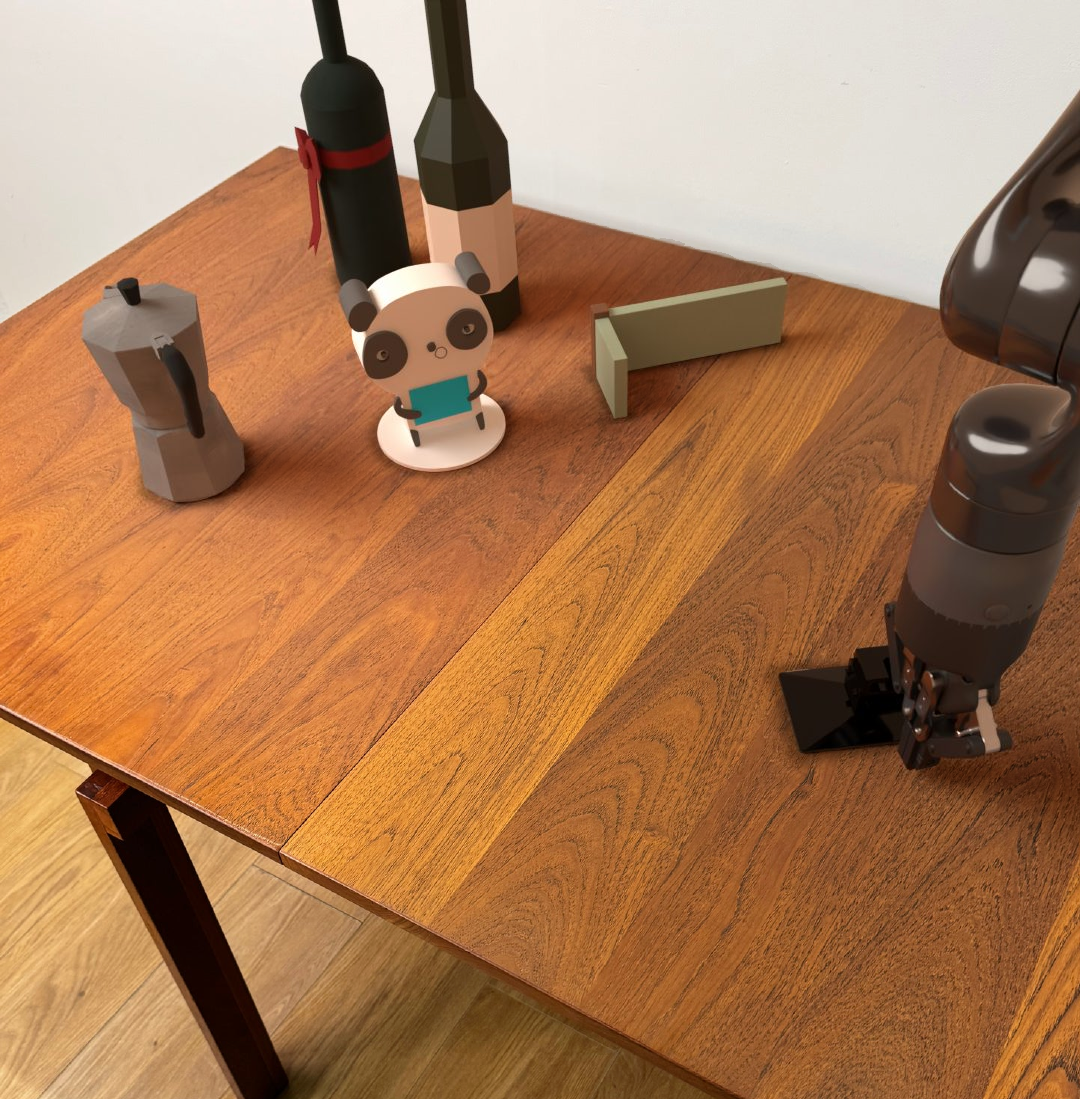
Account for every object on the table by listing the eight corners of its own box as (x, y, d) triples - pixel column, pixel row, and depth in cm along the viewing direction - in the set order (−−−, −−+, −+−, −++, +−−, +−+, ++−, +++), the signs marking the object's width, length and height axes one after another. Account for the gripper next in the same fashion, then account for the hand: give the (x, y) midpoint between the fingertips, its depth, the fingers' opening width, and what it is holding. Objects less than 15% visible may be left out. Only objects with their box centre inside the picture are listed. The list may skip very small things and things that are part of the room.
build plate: (799, 754, 79) (807, 712, 75) (776, 673, 83) (782, 629, 80) (980, 734, 79) (997, 690, 75) (947, 654, 83) (961, 609, 80)
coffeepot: (118, 451, 103) (38, 264, 89) (215, 410, 106) (152, 223, 92) (184, 547, 95) (107, 358, 81) (287, 501, 98) (231, 310, 84)
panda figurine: (388, 487, 98) (356, 331, 86) (357, 410, 105) (324, 256, 93) (522, 451, 100) (509, 294, 88) (483, 378, 107) (466, 223, 95)
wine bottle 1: (304, 276, 119) (225, -57, 96) (390, 243, 122) (334, -88, 99) (338, 311, 115) (264, -29, 92) (427, 275, 118) (377, -62, 95)
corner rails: (775, 334, 108) (783, 269, 103) (805, 382, 104) (815, 316, 99) (591, 369, 107) (589, 304, 102) (613, 419, 102) (612, 354, 97)
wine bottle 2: (445, 287, 117) (400, -53, 93) (527, 289, 116) (502, -55, 92) (429, 335, 112) (377, -12, 88) (514, 338, 110) (485, -13, 87)
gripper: (1106, 644, 59) (1016, 827, 73) (987, 480, 67) (926, 673, 81) (969, 674, 59) (904, 854, 72) (865, 505, 67) (824, 696, 80)
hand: (916, 758), depth 77 cm, fingers closed
